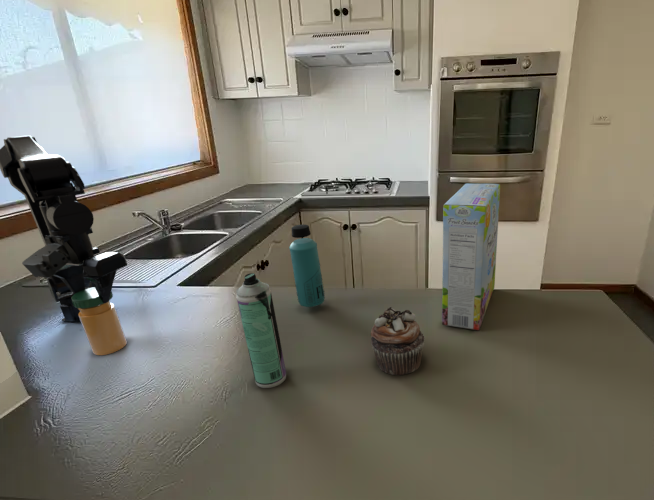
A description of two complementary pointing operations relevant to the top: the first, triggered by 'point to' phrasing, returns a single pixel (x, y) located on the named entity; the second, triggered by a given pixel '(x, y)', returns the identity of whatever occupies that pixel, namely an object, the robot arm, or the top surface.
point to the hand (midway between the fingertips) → (94, 300)
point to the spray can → (261, 332)
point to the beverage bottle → (306, 268)
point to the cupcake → (397, 342)
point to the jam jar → (102, 328)
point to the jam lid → (87, 298)
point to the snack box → (469, 254)
